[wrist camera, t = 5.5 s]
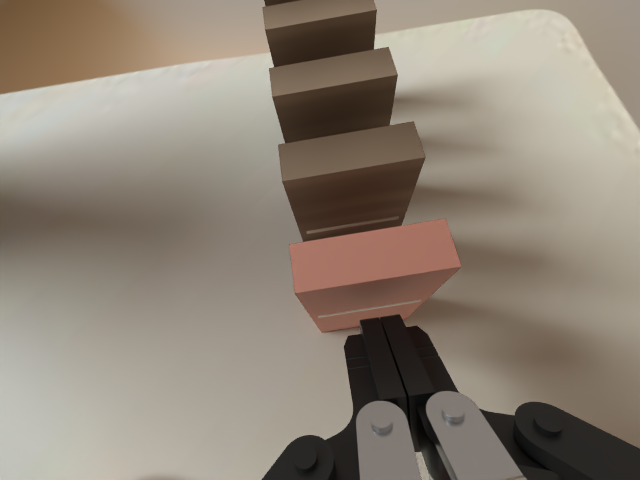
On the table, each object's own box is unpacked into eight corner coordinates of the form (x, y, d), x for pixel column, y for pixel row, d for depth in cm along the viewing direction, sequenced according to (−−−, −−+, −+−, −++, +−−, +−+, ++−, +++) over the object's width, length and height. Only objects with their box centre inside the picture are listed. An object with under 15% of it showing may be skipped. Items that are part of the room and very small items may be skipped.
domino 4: (406, 319, 19) (462, 268, 9) (321, 333, 19) (294, 294, 10) (399, 291, 19) (445, 217, 10) (317, 304, 19) (288, 242, 10)
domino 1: (365, 153, 23) (376, 10, 14) (298, 165, 23) (265, 30, 14) (361, 135, 24) (369, -13, 15) (295, 146, 24) (262, 6, 15)
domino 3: (390, 255, 20) (425, 158, 11) (312, 268, 20) (282, 182, 11) (384, 231, 21) (413, 120, 12) (309, 244, 21) (278, 143, 12)
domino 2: (377, 200, 22) (397, 75, 13) (304, 213, 22) (272, 97, 13) (372, 179, 22) (388, 46, 13) (301, 191, 23) (268, 67, 13)
